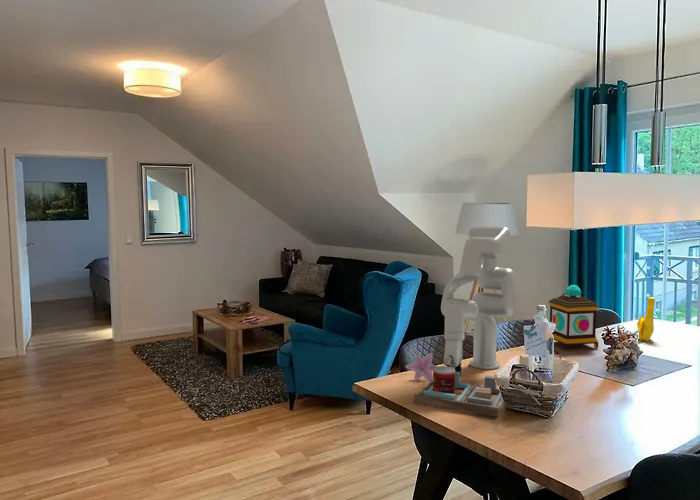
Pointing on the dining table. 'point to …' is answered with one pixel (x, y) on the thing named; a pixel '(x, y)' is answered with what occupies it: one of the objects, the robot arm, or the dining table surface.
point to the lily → (422, 367)
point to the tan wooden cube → (483, 393)
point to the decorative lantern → (574, 318)
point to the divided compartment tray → (458, 403)
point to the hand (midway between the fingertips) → (453, 379)
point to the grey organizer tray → (487, 384)
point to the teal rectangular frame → (447, 395)
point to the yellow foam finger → (647, 322)
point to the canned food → (444, 379)
